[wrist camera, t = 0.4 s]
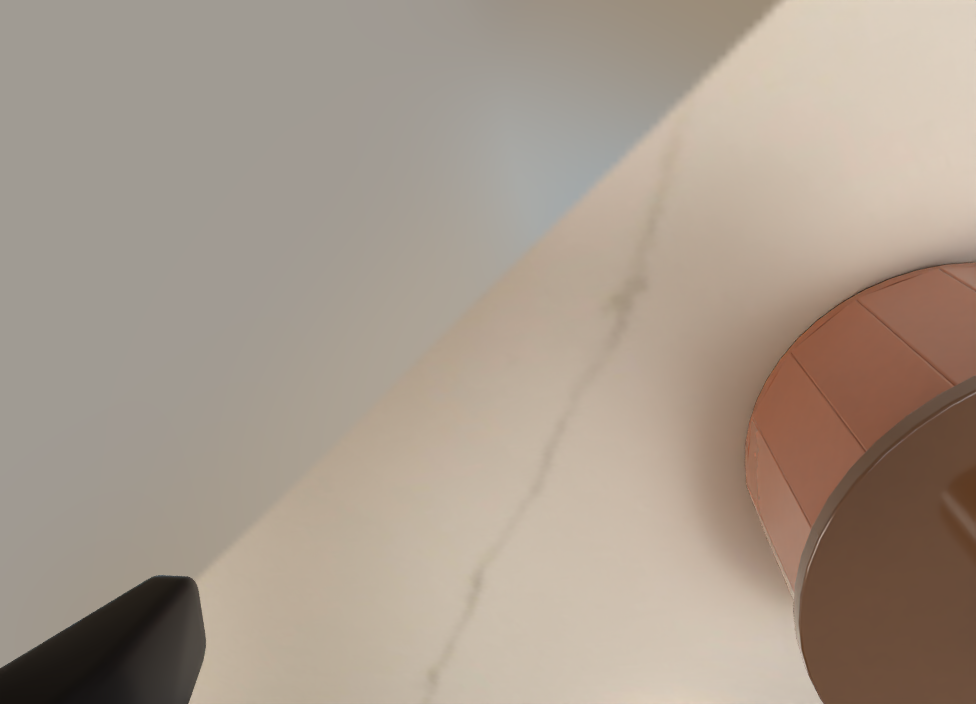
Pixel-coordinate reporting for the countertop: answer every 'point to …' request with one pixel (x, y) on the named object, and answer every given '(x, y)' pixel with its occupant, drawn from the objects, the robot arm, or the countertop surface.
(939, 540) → the lid
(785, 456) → the crock
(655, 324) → the countertop surface
